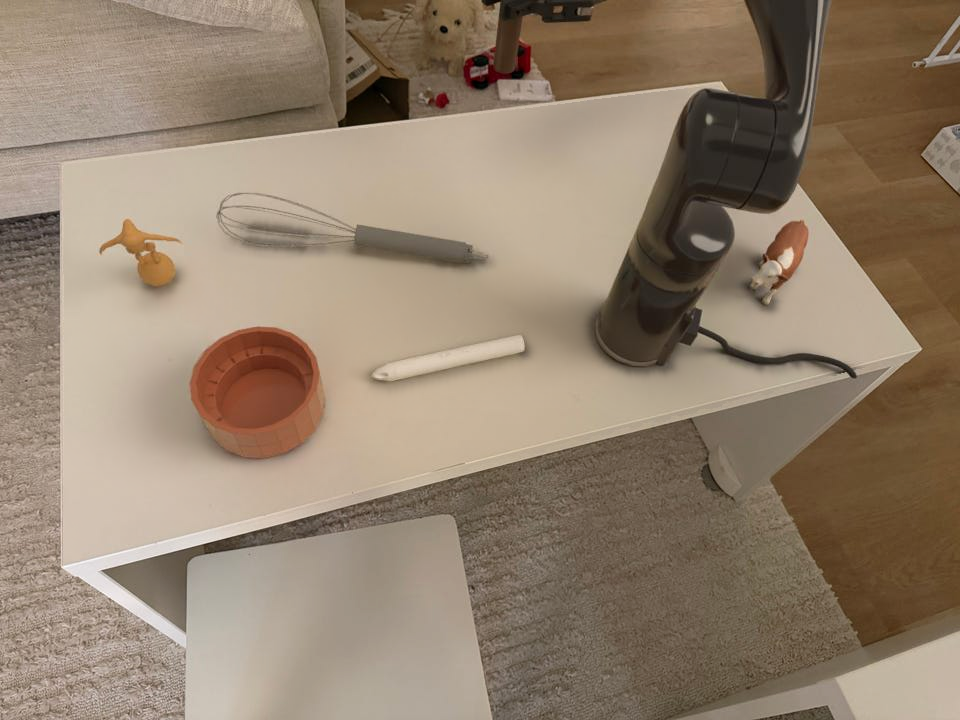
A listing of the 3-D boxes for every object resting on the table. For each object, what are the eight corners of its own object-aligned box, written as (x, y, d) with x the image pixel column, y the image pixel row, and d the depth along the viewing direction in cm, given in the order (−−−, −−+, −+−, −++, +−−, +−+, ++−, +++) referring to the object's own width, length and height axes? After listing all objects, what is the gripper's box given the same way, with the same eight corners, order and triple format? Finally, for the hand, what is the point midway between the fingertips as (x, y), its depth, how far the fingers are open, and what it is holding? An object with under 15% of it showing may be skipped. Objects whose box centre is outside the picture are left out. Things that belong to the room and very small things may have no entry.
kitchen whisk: (486, 281, 84) (491, 247, 79) (217, 250, 83) (204, 214, 77) (489, 244, 87) (494, 210, 82) (230, 214, 86) (218, 178, 81)
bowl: (344, 379, 75) (339, 348, 69) (292, 477, 68) (282, 451, 63) (243, 345, 76) (231, 311, 70) (183, 437, 69) (164, 408, 64)
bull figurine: (727, 305, 86) (755, 264, 79) (768, 246, 92) (797, 204, 85) (757, 323, 85) (788, 284, 78) (797, 262, 91) (829, 221, 84)
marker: (373, 388, 74) (372, 378, 72) (369, 373, 75) (368, 362, 73) (523, 355, 79) (526, 344, 77) (517, 340, 80) (520, 329, 78)
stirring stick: (516, 62, 85) (529, -26, 75) (513, 75, 83) (526, -13, 74) (494, 58, 85) (504, -30, 75) (491, 71, 83) (501, -17, 74)
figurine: (196, 261, 81) (167, 189, 71) (200, 300, 78) (169, 230, 68) (124, 272, 80) (82, 199, 69) (124, 312, 77) (81, 242, 66)
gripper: (574, -94, 81) (458, -61, 74) (653, -38, 76) (536, 3, 69) (562, -32, 87) (455, 4, 81) (634, 24, 82) (526, 67, 76)
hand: (493, 3), depth 75 cm, fingers closed on stirring stick, 2 cm apart
